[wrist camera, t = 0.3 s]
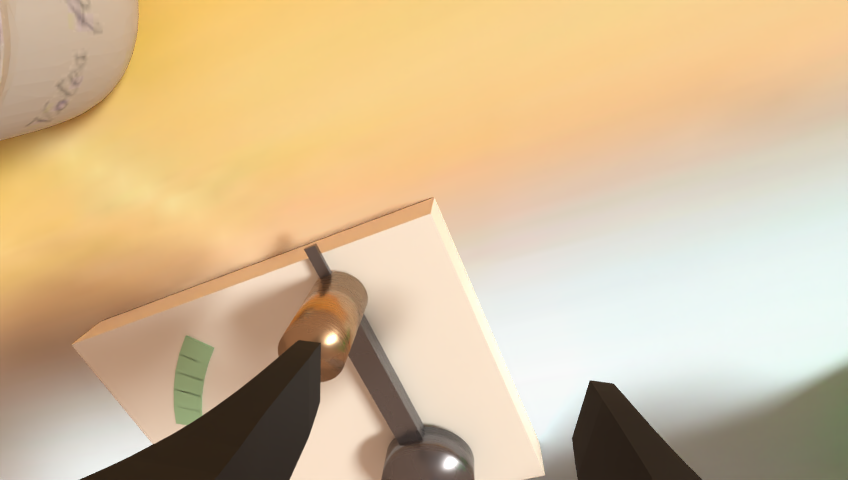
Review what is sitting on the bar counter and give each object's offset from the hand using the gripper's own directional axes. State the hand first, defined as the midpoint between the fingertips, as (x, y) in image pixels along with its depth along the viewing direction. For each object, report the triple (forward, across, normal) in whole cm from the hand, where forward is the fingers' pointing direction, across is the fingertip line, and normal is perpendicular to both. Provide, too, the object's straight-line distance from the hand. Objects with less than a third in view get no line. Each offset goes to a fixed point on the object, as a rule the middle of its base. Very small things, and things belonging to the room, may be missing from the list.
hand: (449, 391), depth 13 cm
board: (+9, +6, +9) cm, 14 cm away
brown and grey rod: (+7, +2, +6) cm, 10 cm away
